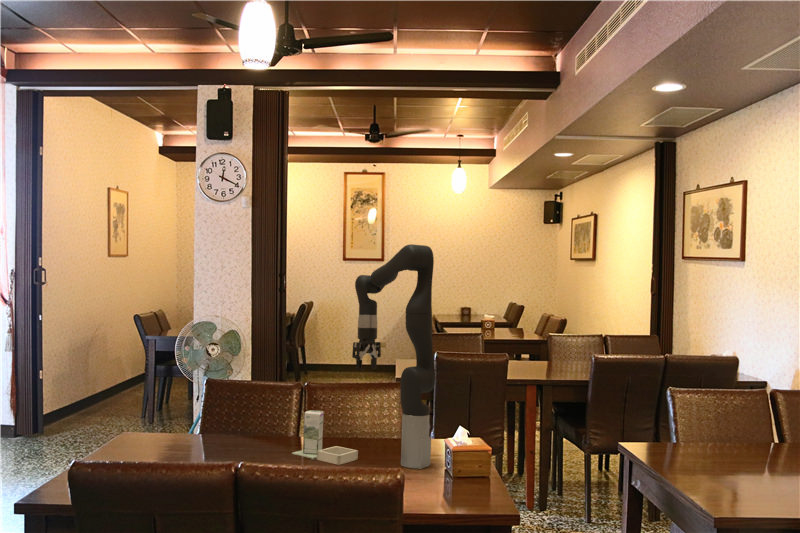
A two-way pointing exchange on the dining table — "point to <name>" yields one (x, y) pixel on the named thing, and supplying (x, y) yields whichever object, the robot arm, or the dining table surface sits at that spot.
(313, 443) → the syrup box
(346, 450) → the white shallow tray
